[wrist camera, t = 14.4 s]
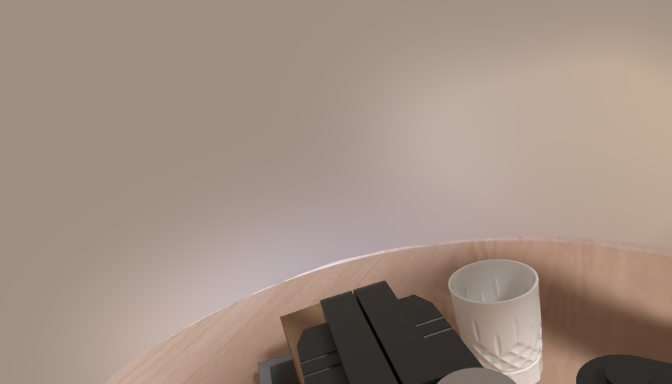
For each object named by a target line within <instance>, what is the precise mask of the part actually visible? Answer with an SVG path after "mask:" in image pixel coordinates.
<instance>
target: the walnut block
mask: <svg viewBox="0 0 672 384" xmlns="http://www.w3.org/2000/svg"><path fill="white" fill-rule="evenodd" d="M280 319H281V322H282V325H283V329H284V332H285V336H286V339H287V342H288V346H289V349H290V352H291V356H292V359H293V363H294V366H295V369H296V373H297V376H298V379H299V383H300V384H305V382H304V377H303V373H302V369H301V363H300V359H299V355H298V350H297V344H298V341H299V339H300V336H301V334H302V331H303V330H304V329H307V328H310V327H313V326H317V325H320V324H323V323H326V322H325V319H324V315H323V311H322V308H321V303H319V304H316V305H313V306H311V307H308V308H305V309H302V310H299V311H296V312H293V313H291V314H288V315H285V316H282V317H280Z"/></svg>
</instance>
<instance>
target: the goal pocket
mask: <svg viewBox="0 0 672 384" xmlns="http://www.w3.org/2000/svg"><path fill="white" fill-rule="evenodd" d="M258 371H259V383H260V384H297V383H299V379H298V376H297V373H296V369H295V366H294V363H293V359H292V356H291V353H290V354H286V355H283V356H280V357H277V358H274V359H271V360H267V361H264V362H261V363H258Z"/></svg>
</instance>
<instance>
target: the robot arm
mask: <svg viewBox="0 0 672 384" xmlns="http://www.w3.org/2000/svg"><path fill="white" fill-rule="evenodd" d="M353 293H354V295H353ZM353 293H352V291H349V292H346V293H343V294H339V295H336V296H333V297H330V298H326V299H323V300H320V303H321V308H322V311H323V315H324V319H325V322H326V323H323V324H320V325H317V326H313V327H310V328H307V329H304V330H303V331H302V334H301V336H300V339H299V341H298V344H297V350H298V355H299V359H300V363H301V369H302V373H303V377H304V382H305V384H516V383H515V382H514V381H513V380H512V379H511V378H510V377H508V376H507V375H505V374H503V373H501V372H498V371H495V370H492V369H487V368H484V367H483V366H482V364H481V363H480V362H479V361H478V359H477V358H476V357H475V356H474V354H473V353H472V352H471V351H470V349H469V348H468V347H467V346H466V344H465V343H464V342H463V341H462V339H461V338H460V337H459V336H458V334H457V333H456V332H455V331H454V330H453V329H452V328H451V326H450V325H449V323H448V322H447V321H446V320H445V318H443V316H442V315H441V313H440V312H439V311H438V310H437V308H436V307H435V306H434V305H433V303H431V302H429V301H427V300H425V299H423V298H421V297H418V296H416V295H411V296H408V297H405V298H402V299H399V300H398V299H397V297H396V296H395V294H394V293H393V291H392V290H391V289H390V287H389V286H388V284H387V283H386V281H381V282H378V283H375V284H371V285H368V286H365V287H362V288H358V289H355V290H353ZM576 384H672V364H669V363H665V362H660V361H656V360H651V359H647V358H642V357H637V356H631V355H607V356H602V357H598V358H595V359H593V360H590V361H589V362H587V363H586V364H584V365H583V366H582V367H581V368H580V370H579V371H578V374H577V377H576Z"/></svg>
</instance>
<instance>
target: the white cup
mask: <svg viewBox="0 0 672 384" xmlns="http://www.w3.org/2000/svg"><path fill="white" fill-rule="evenodd" d="M448 288H449V292H450V296H451V301H452V305H453V309H454V314H455V318H456V323H457V327H458V330H459V334H460V338H461V339H462V341H463V342H464V343H465V344H466V346H467V347H468V348H469V349H470V351H471V352H472V353H473V354H474V356H475V357H476V358H477V359H478V361H479V362H480V363H481V364H482V366H483V367H484V368H487V369H492V370H495V371H498V372H501V373H503V374H505V375H507V376H508V377H510V378H511V379H512V380H513V381H514V382H515V383H516V384H536V383H537V382H539V381H540V378H541V374H542V371H543V363H542V325H541V309H540V294H539V278H538V274H537V273H536V271H535V270H534V269H533V268H531V267H530V266H528V265H526V264H524V263H521V262H518V261H514V260H506V259H490V260H482V261H478V262H474V263H471V264H468V265H465V266H463V267H461V268H460V269H458V270H457V271H455V272H454V273H453V274H452V275H451V277H450V278H449V281H448Z"/></svg>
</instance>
